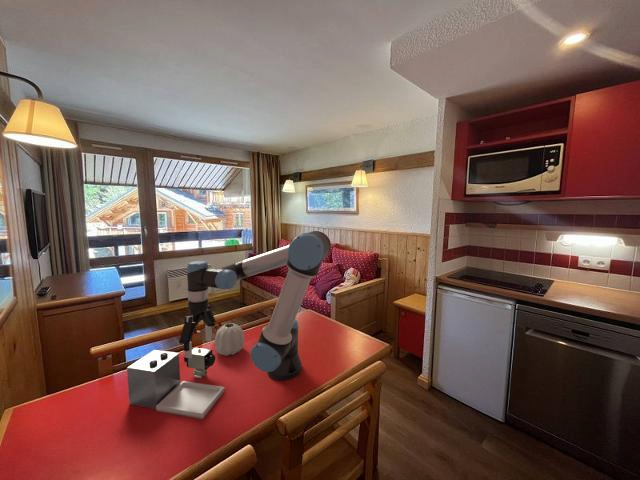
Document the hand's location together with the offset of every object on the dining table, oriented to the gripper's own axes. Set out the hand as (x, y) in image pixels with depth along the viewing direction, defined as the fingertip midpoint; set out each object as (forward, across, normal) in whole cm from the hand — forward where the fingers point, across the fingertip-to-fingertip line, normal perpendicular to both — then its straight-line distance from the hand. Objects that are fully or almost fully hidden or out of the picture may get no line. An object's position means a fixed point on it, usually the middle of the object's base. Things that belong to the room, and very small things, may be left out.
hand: (199, 348), depth 110 cm
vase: (+12, -20, +3) cm, 24 cm away
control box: (+12, +14, -8) cm, 20 cm away
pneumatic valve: (+12, 0, +1) cm, 12 cm away
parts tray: (+12, +14, +7) cm, 19 cm away
